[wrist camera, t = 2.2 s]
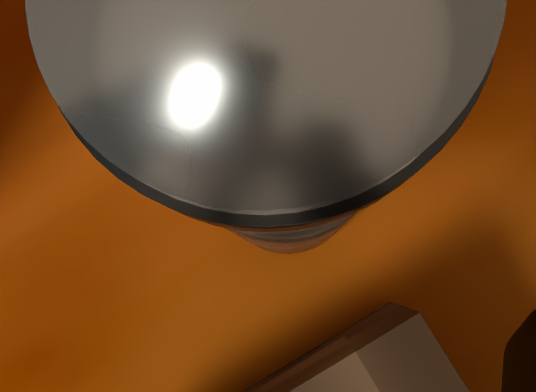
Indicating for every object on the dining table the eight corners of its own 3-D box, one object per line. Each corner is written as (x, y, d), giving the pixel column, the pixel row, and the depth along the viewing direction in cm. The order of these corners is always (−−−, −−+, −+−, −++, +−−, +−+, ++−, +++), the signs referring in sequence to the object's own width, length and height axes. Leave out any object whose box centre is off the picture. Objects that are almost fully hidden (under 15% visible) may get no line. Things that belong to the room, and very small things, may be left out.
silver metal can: (263, 282, 17) (162, 324, 4) (197, 168, 18) (-64, -98, 5) (379, 212, 17) (629, 45, 4) (309, 101, 18) (342, -329, 5)
